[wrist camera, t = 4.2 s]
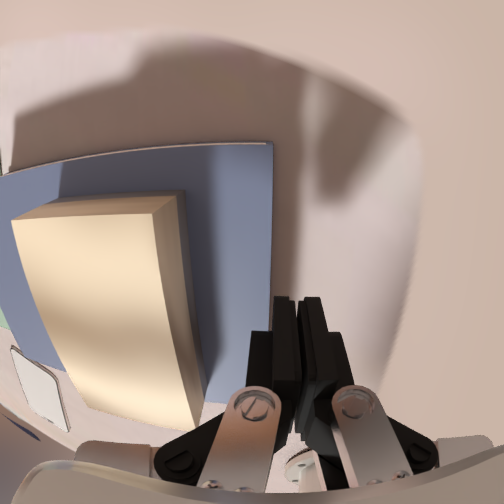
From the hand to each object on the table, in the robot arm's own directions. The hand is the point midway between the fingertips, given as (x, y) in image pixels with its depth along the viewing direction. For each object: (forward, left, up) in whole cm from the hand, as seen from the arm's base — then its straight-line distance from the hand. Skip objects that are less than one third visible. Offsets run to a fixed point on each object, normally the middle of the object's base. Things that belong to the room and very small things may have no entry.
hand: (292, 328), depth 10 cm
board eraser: (0, +7, 0) cm, 7 cm away
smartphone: (-19, +28, -6) cm, 34 cm away
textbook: (0, +10, -5) cm, 11 cm away
